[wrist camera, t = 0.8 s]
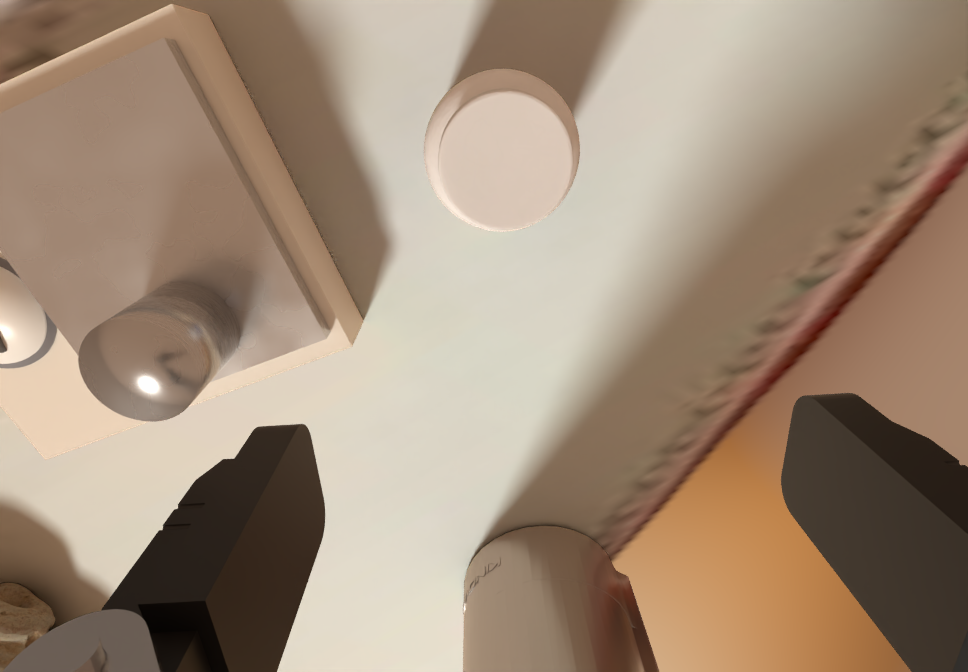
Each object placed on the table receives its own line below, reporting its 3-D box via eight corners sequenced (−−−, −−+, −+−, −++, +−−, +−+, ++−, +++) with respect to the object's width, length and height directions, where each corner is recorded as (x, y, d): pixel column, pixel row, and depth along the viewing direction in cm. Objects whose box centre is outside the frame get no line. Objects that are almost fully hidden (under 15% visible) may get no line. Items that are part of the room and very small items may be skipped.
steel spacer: (253, 310, 23) (213, 351, 20) (221, 386, 25) (177, 438, 21) (156, 264, 22) (94, 299, 19) (127, 346, 24) (65, 392, 20)
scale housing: (208, 14, 22) (164, 1, 19) (363, 321, 28) (349, 351, 24) (-119, 165, 24) (-209, 177, 21) (84, 425, 30) (38, 466, 26)
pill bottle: (562, 78, 24) (612, 71, 15) (549, 205, 26) (586, 258, 18) (435, 69, 23) (417, 56, 15) (431, 198, 25) (414, 248, 17)
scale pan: (174, 39, 20) (163, 37, 19) (330, 331, 25) (326, 338, 24) (-58, 146, 21) (-77, 148, 20) (132, 405, 26) (122, 415, 25)
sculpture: (197, 666, 38) (-8, 541, 32) (164, 745, 34) (-79, 618, 28) (127, 702, 40) (-80, 590, 34) (87, 781, 36) (-157, 670, 30)
